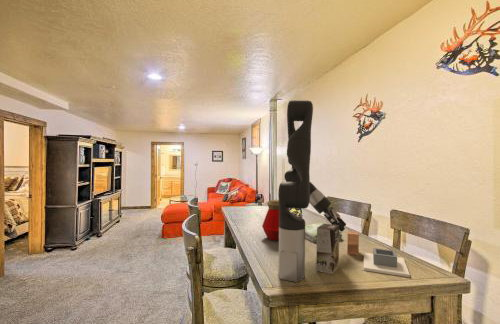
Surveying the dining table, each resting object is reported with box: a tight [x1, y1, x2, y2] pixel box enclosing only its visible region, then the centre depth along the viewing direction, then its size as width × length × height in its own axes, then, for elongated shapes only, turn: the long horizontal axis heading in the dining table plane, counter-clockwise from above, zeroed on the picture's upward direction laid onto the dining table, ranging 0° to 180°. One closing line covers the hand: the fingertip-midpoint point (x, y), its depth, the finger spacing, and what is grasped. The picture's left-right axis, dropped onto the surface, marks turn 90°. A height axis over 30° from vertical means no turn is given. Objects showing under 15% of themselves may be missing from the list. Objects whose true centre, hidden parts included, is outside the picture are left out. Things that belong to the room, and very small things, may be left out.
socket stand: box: [363, 247, 411, 278], centre depth 107 cm, size 18×15×5 cm
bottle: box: [262, 199, 279, 242], centre depth 141 cm, size 16×14×20 cm
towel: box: [305, 222, 343, 243], centre depth 147 cm, size 18×21×5 cm
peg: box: [346, 230, 360, 256], centre depth 120 cm, size 4×4×9 cm
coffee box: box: [315, 223, 340, 275], centre depth 102 cm, size 9×6×16 cm
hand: (344, 228), depth 122 cm, fingers open, 8 cm apart
